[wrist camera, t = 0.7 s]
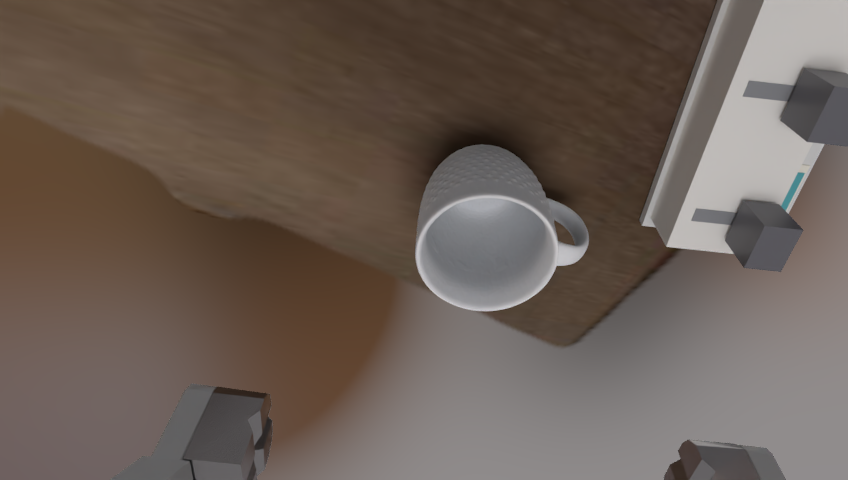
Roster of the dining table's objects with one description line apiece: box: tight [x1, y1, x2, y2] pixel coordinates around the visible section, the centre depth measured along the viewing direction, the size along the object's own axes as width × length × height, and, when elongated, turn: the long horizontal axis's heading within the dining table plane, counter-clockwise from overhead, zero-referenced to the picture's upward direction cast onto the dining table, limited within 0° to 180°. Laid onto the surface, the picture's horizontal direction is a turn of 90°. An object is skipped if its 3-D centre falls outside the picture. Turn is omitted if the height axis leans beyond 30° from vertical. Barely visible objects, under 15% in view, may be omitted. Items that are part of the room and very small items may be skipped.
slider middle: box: [780, 68, 848, 146], centre depth 41 cm, size 4×3×4 cm
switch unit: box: [639, 0, 848, 254], centre depth 46 cm, size 31×13×6 cm, turn 174°
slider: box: [725, 200, 803, 272], centre depth 47 cm, size 4×3×4 cm
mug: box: [415, 144, 589, 311], centre depth 50 cm, size 15×11×13 cm
